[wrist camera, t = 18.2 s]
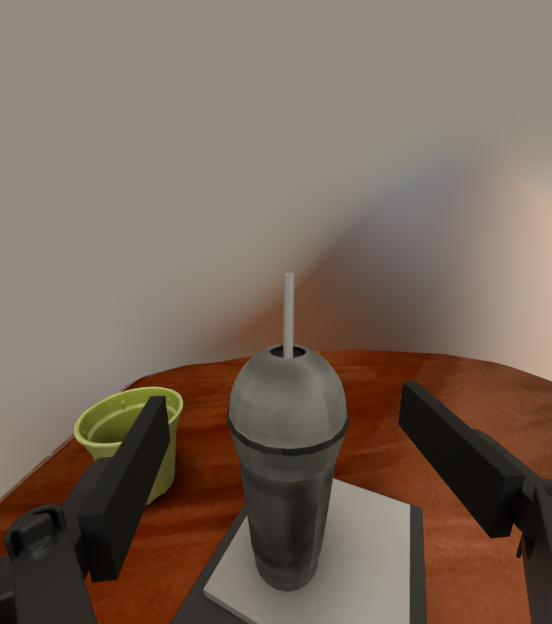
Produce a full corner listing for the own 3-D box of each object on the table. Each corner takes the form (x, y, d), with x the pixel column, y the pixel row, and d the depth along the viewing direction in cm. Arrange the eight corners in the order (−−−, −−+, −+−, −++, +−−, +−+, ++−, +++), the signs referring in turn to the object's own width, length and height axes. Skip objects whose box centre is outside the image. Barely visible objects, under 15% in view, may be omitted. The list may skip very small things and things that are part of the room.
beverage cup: (329, 506, 24) (342, 263, 19) (350, 620, 17) (381, 280, 11) (241, 506, 24) (230, 264, 19) (226, 619, 17) (201, 280, 12)
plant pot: (68, 534, 25) (47, 450, 22) (115, 454, 34) (103, 389, 31) (180, 522, 26) (170, 440, 23) (196, 447, 35) (190, 383, 32)
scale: (165, 665, 17) (159, 629, 16) (273, 476, 30) (273, 452, 30) (427, 878, 11) (438, 839, 11) (418, 530, 25) (423, 502, 24)
